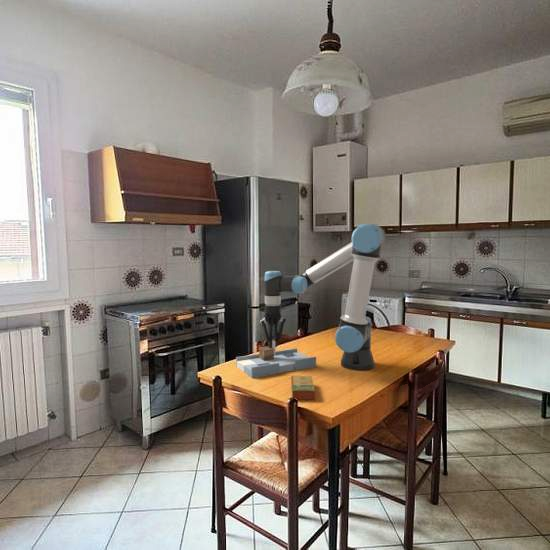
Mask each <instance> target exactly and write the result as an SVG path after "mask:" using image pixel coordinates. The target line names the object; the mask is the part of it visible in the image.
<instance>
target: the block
mask: <svg viewBox="0 0 550 550" xmlns="http://www.w3.org/2000/svg"><path fill="white" fill-rule="evenodd" d="M258 354H259V358H260V359H262V360H263V361H266V360H272V359H274V349H273V348H269V347H268V346H267V345H266V346H260V347H258Z"/></svg>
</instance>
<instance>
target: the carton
mask: <svg viewBox="0 0 550 550" xmlns="http://www.w3.org/2000/svg"><path fill="white" fill-rule="evenodd" d="M290 381H291V382H290V384H291V385H290V387H291V388H290V389H291V399H292V398H296V399H297V400H298V401H297V402H302V401H305V402H306V401H307V402H308V401H310V402H311V401H316V390H315V386H314V382H313V379H312V375H291V376H290Z"/></svg>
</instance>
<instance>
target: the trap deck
mask: <svg viewBox="0 0 550 550" xmlns="http://www.w3.org/2000/svg"><path fill="white" fill-rule="evenodd" d="M235 363H236V365H235V366H236V368H237V369H238V370H240V371H242V372H243V373H244V374H246V375H247V376H248V377H250V378H251V379H255V378H261V377H266V376H273V375H277V374H278V373H279V372H281V373H286V372H291V370H292V371H295V370H296V371H300V369H301V370H306V369H305V368H307V369H312V368H311V367H313V368H317V356H311V357H309V356H307V355H305V354H303V353H301V352H299V351H298V348H297V347H296V348H290V349H282V350H275V355H274V359H272V360H266V361H263V360H262V359H260V358H259V353H257V354H249V355H244V356H243V355H242V356H236V357H235ZM285 371H286V372H285ZM279 374H280V373H279Z"/></svg>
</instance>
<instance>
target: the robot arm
mask: <svg viewBox="0 0 550 550" xmlns="http://www.w3.org/2000/svg"><path fill="white" fill-rule="evenodd" d="M386 240H387V234H386V232H385V230H384V229H383V228H382V227H381V226H379V225H378V224H374V223H368V222H367V223H362V224H359V225H358V226H357V227H356V228H355V229H354V230H353V232H352V234H351V242H350V243H348V244H346V245H345V246H342V247H341V248H340V249H338V250H337V251H335V252H333V253H331V254H330V255H328V256H327V257H326V258H324V259H322V260H320V261H319V262H318V263H316V264H314V265H313V266H311V267H309V268H307V269H306V270H304V271H302V272H301V273H299V274H297V275H282V273H281V271H279V270H268V271H266V272H264V282H263V283H264V316H263V318H262V319H259V324H260V326H261V329H262V333H263V337H264V340H265V341H267V343H268V347H269V348H273V349H274V355H275V351H276V348H277V347H278V341H279V340H281V339H282V333H283V331H284V325H285V323H286V320H287V319H286V318H284V317H282V314H281V312H282V305H281V304H282V302H281V301H282V299H281V298H282V297H281V295H282V293H291V294H304V293H305V292H306V291H307V290H308V289H309V288H311V286H313V285H315V284H316V283H318V282H320V281H322V280H323V279H325V278H326V277H328V276H329V275H331V274H333V273H335V272H337V271H338V270H340V269H342V268H343V267H345V266H347V265H348V264H350V263H351V262H352V263H353V264H352V270H351V273H350V274H351V275H350V281H349V286H348V287H349V288H348V294H347V298H346V305H345V311H344V314H342V315H341V316H340V317H339V324H338V328H337V330H336V331H335V335H334V341H335V344H336V345H337V347H338V348H339V349H340V350H341V351H342V356H341V358H340V366H341V367H343V368H345V369H348V370H354V371H368V370H372V369H373V368H375V360H374V356H373V353H372V351H371V345H372V344H371V343H372V342H371V341H372V340H371V339H372V338H371V337H372V319H371V318H370V317H369V316H367V309H368V304H369V298H370V292H371V287H372V280H373V277H374V275H373V274H374V269H375V264H376V262H377V261H378V260H379V259H380V257H381V252H382V248H383V247H384V245H385V243H386Z"/></svg>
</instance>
